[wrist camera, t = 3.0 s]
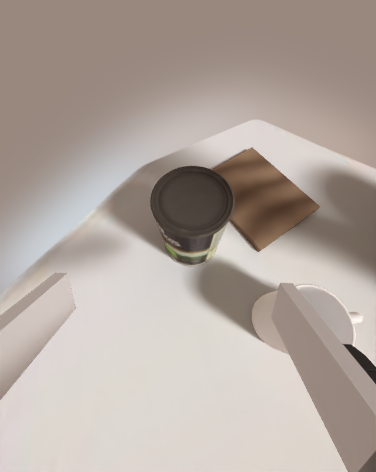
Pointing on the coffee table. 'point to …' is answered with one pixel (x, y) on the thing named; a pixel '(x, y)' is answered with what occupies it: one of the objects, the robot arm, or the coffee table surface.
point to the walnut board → (263, 198)
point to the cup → (320, 302)
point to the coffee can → (192, 212)
